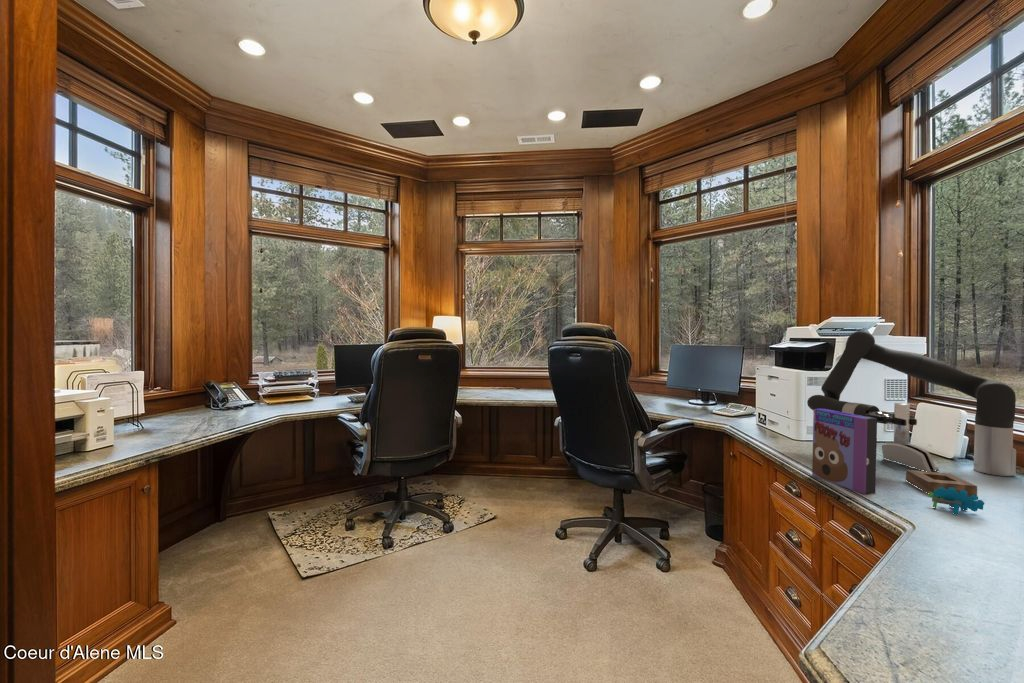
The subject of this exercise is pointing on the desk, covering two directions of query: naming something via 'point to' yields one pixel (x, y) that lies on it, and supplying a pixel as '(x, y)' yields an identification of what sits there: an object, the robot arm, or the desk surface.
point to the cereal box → (845, 449)
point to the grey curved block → (909, 456)
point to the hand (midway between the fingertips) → (910, 422)
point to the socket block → (939, 481)
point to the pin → (901, 431)
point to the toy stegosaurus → (956, 499)
